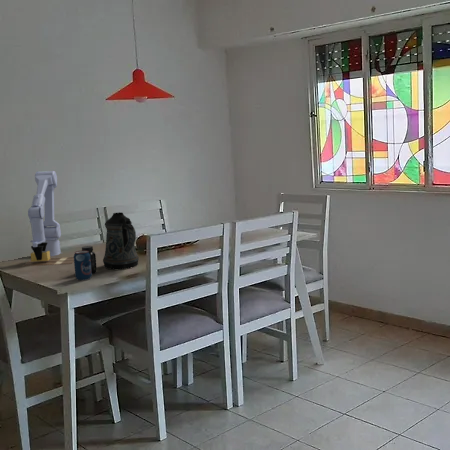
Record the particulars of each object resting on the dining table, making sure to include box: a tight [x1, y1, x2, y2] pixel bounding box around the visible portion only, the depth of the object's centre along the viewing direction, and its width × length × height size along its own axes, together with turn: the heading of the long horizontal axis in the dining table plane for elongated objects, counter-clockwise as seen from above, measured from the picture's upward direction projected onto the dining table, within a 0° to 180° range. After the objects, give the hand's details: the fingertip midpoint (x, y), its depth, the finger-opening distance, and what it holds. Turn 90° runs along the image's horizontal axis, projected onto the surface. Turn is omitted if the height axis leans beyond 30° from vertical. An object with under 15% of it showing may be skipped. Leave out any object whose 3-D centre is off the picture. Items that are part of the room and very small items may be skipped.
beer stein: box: [102, 212, 140, 271], centre depth 283 cm, size 16×19×25 cm
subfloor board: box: [21, 256, 74, 267], centre depth 299 cm, size 16×24×1 cm, turn 90°
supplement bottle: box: [81, 245, 98, 275], centre depth 274 cm, size 7×7×12 cm
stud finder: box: [30, 251, 51, 262], centre depth 298 cm, size 4×8×4 cm, turn 90°
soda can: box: [73, 249, 93, 281], centre depth 263 cm, size 7×7×12 cm
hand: (40, 258), depth 298 cm, fingers closed on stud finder, 4 cm apart
